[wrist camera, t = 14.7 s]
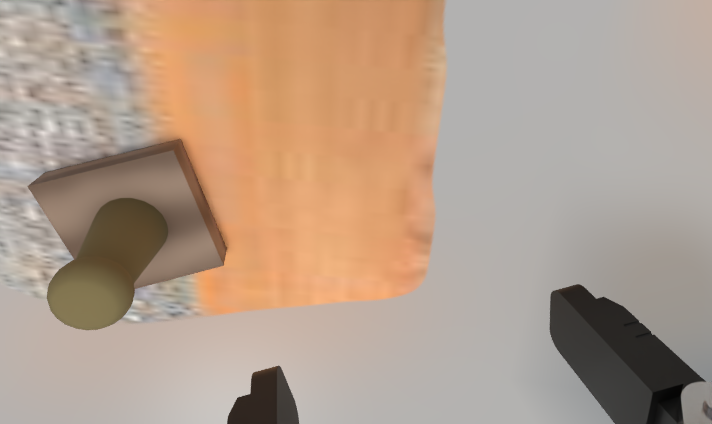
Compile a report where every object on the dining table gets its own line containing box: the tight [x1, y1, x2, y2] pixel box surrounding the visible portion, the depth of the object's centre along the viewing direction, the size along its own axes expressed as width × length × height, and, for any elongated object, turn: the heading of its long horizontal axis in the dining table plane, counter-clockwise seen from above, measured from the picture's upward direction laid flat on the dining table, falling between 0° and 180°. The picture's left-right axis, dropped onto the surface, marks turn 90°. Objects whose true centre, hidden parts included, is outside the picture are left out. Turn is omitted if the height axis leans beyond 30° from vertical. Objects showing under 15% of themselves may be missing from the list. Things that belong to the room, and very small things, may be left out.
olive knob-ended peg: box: [47, 198, 168, 330], centre depth 33 cm, size 6×6×11 cm
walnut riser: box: [28, 139, 227, 289], centre depth 39 cm, size 12×12×3 cm
